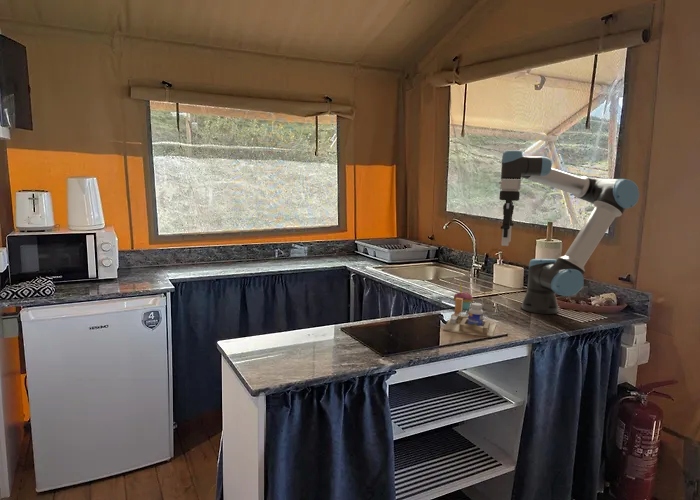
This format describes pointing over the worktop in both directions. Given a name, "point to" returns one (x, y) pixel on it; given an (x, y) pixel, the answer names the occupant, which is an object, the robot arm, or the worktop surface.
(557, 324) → the worktop surface
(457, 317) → the lock bar
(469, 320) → the pill bottle
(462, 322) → the mount
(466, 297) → the cupcake
